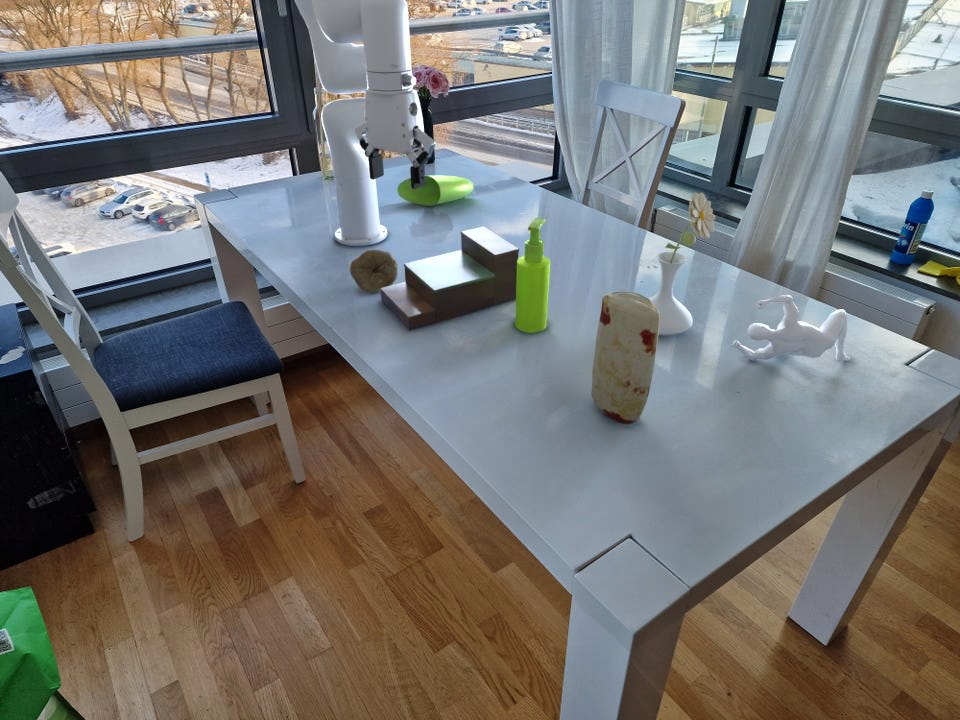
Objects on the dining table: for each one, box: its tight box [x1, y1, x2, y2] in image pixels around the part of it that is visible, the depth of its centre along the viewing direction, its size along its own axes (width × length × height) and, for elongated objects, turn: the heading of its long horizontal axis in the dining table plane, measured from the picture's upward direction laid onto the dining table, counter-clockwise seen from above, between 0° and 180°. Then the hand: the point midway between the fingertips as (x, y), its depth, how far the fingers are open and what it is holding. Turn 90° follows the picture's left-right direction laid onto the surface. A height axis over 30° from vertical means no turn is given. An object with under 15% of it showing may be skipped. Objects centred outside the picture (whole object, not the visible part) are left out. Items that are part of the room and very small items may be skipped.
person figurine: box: [731, 294, 852, 362], centre depth 106 cm, size 13×13×18 cm
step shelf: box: [379, 225, 520, 331], centre depth 124 cm, size 13×24×11 cm, turn 121°
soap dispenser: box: [514, 217, 551, 334], centre depth 114 cm, size 6×7×20 cm
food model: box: [590, 291, 660, 425], centre depth 91 cm, size 10×7×20 cm
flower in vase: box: [647, 192, 716, 336], centre depth 112 cm, size 13×11×25 cm
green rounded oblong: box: [396, 175, 474, 206], centre depth 173 cm, size 8×12×20 cm
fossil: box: [349, 248, 399, 294], centre depth 132 cm, size 9×4×10 cm
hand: (397, 182), depth 115 cm, fingers open, 9 cm apart
